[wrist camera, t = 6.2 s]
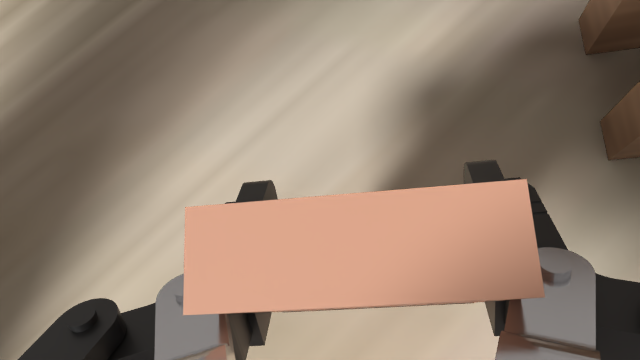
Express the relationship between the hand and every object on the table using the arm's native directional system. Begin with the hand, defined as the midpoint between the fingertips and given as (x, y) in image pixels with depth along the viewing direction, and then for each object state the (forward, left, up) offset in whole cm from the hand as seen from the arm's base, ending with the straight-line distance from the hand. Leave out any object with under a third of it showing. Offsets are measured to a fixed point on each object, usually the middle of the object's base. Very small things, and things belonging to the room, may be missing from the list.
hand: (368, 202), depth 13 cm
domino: (0, -2, -4) cm, 5 cm away
